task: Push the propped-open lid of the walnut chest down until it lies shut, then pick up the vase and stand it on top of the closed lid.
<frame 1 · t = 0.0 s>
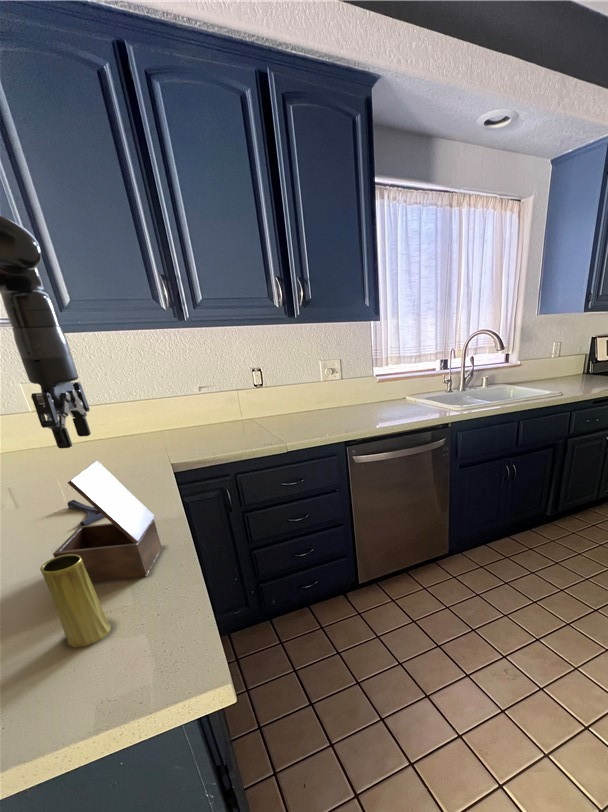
hand: (75, 441, 84), 25 cm above the counter, tool pointing down, fingers open, 8 cm apart
chest: (118, 567, 89), on the counter
lid: (115, 501, 84), point 15 cm above the counter, hinge at 60.0°
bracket: (91, 513, 115), on the counter
vase: (90, 637, 70), on the counter
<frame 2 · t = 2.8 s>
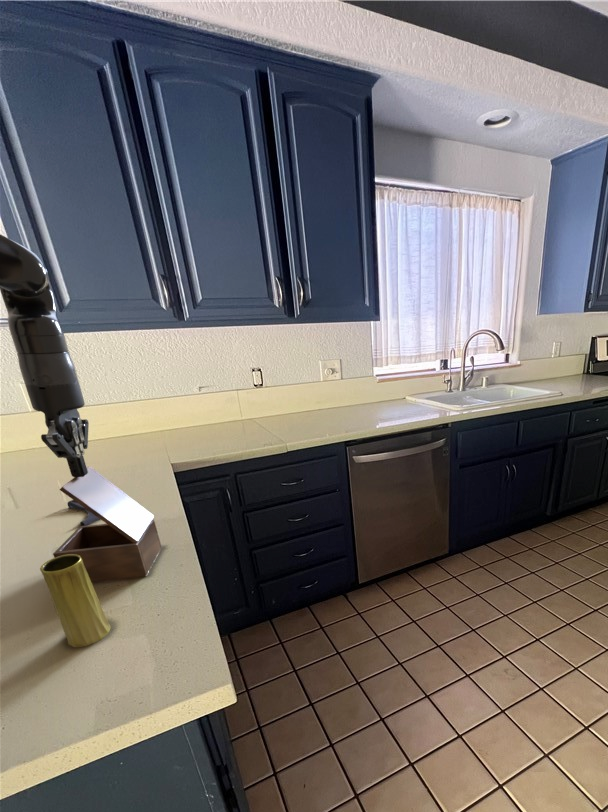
hand: (80, 475, 80), 21 cm above the counter, tool pointing down, fingers closed
lid: (111, 504, 84), point 14 cm above the counter, hinge at 52.5°, touching gripper
everything else where it was.
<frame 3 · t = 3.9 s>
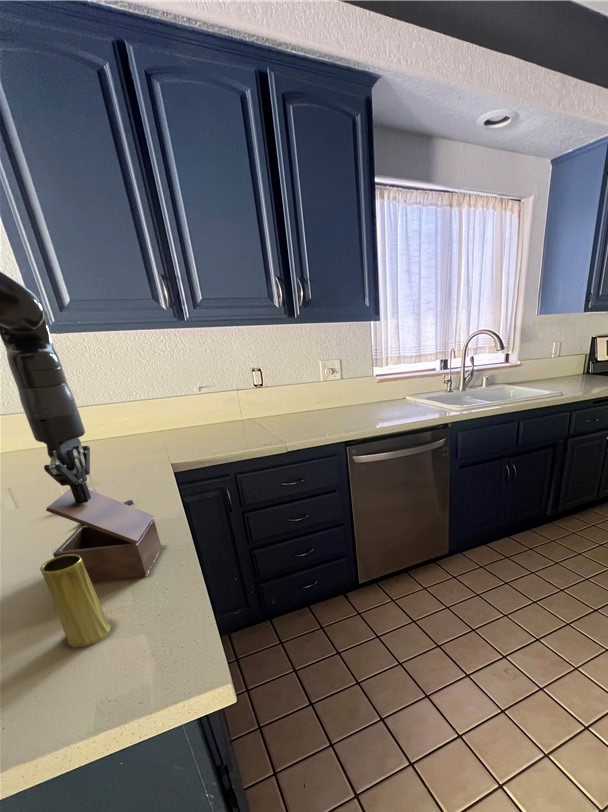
hand: (83, 501, 82), 15 cm above the counter, tool pointing down, fingers closed
lid: (105, 513, 84), point 13 cm above the counter, hinge at 33.8°, touching gripper
everything else where it was.
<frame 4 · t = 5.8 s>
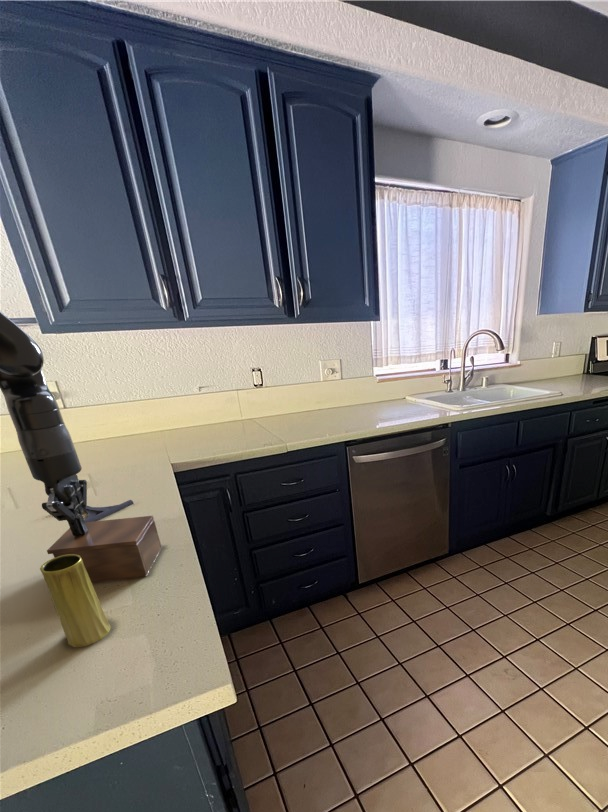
hand: (80, 534, 85), 9 cm above the counter, tool pointing down, fingers closed
lid: (104, 533, 86), point 8 cm above the counter, hinge at -0.2°, touching chest, gripper
everything else where it was.
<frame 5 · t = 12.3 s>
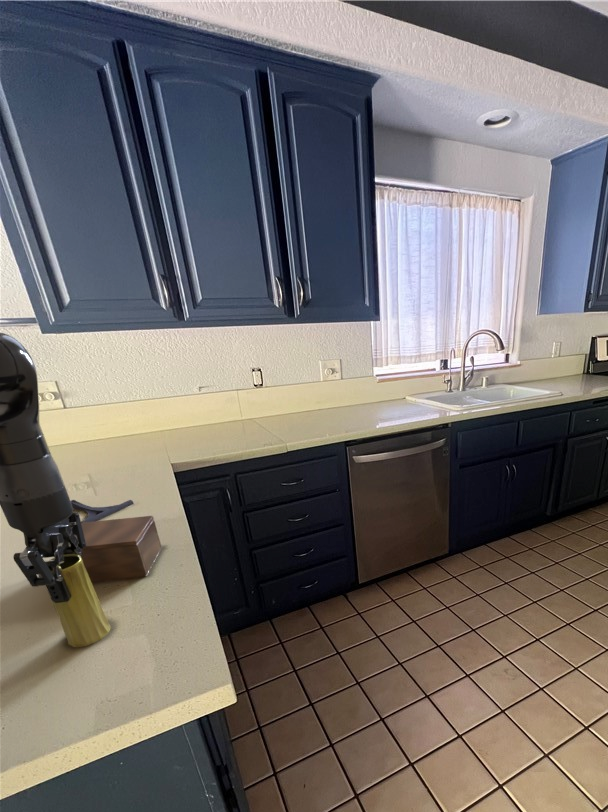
hand: (71, 589, 66), 9 cm above the counter, tool pointing down, fingers closed on vase, 5 cm apart
lid: (104, 533, 86), point 8 cm above the counter, hinge at -0.2°, touching chest
vase: (91, 637, 70), on the counter, touching gripper
everything else where it was.
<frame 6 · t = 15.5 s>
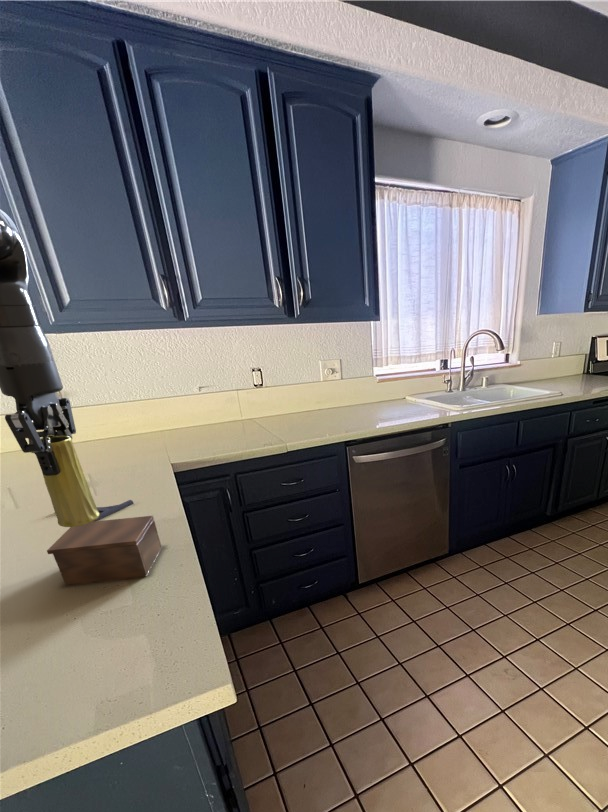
hand: (61, 468, 70), 25 cm above the counter, tool pointing down, fingers closed on vase, 5 cm apart
vase: (80, 520, 74), point 16 cm above the counter, touching gripper
everything else where it was.
when the fingers open (18 cm above the counter, at t = 19.0 s): vase stays where it is, resting on lid.
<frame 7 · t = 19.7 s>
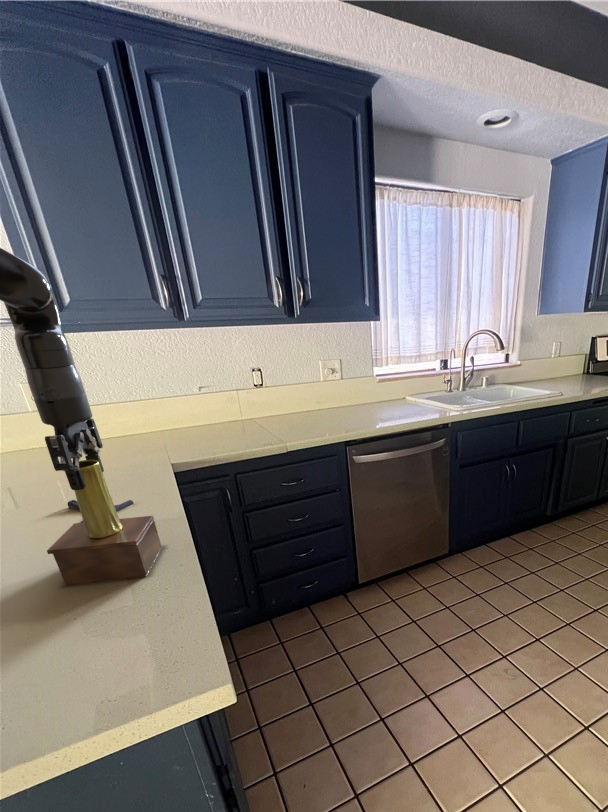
hand: (88, 480, 81), 19 cm above the counter, tool pointing down, fingers open, 8 cm apart
lid: (104, 533, 86), point 8 cm above the counter, hinge at -0.2°, touching chest, vase
vase: (105, 532, 86), point 8 cm above the counter, touching lid
everything else where it was.
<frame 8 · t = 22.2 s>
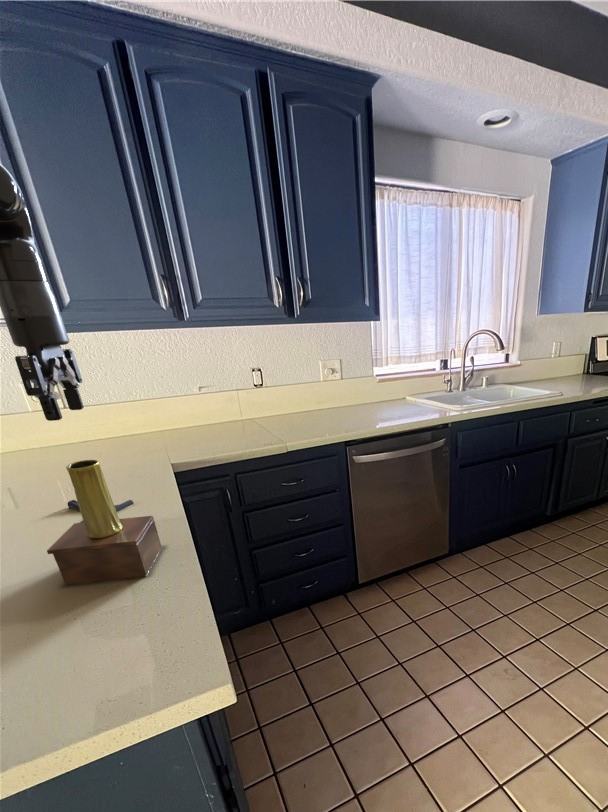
hand: (66, 414, 76), 32 cm above the counter, tool pointing down, fingers open, 8 cm apart
nothing on the counter moved.
at the end: lid at +0° (first picture: +60°); vase inside the target area on the chest (0.1 cm from its centre), point 8.4 cm above the chest's base; vase tilted 0° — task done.
